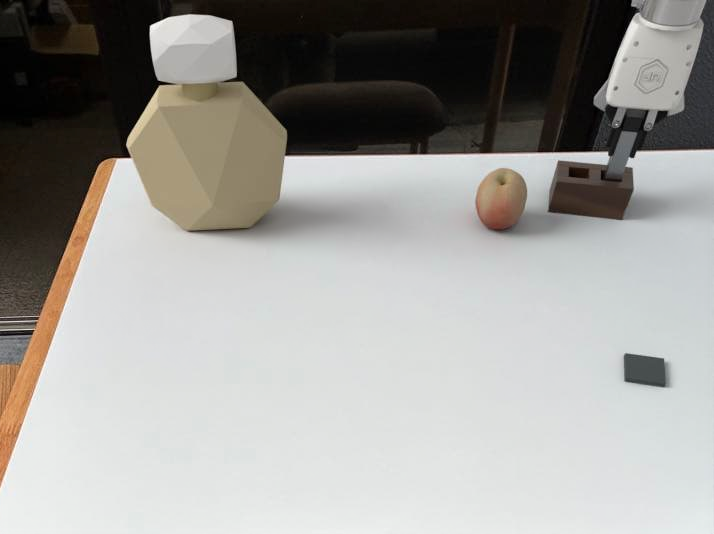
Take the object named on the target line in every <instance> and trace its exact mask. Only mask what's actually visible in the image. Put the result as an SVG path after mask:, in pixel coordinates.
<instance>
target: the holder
mask: <svg viewBox="0 0 714 534" xmlns="http://www.w3.org/2000/svg"><path fill="white" fill-rule="evenodd" d="M606 167H607V164H601V163H591V162H590V163H589V162H579V161H571V160H570V161H569V160H561V159H560V160H559V159H558V160H557V163H556V166H555V170H554V173H553V177H552V180H551V183H550V188H549V191H548V192H549V193H548V195H549V196H548V205H547V212H548V213H555V214H565V215H573V216H574V215H575V216H584V217H593V218H601V219H602V218H603V219H611V220H620V221H621V220H623V218H624V216H625V213H626V210H627V208H628V205H629V203H630V200H631V198H632V197H633V193H634V190H635V186H634V168H633V167H632V166H626V167H625V170H624V172H623V175H622V178H621V180H620V182H614V181H604V180H602V178H603V175H604V172H605V169H606Z"/></svg>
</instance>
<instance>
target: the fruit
mask: <svg viewBox="0 0 714 534" xmlns="http://www.w3.org/2000/svg"><path fill="white" fill-rule="evenodd" d="M527 198H528V187H527V182H526V180H525V178H524V177H523V176H522V174H520V173H519V172H518V171H516V170H514V169H511V168H509V167H499V168H496V169H494V170H492V171H490V172H489V173H488V174H487V175H485V177H484V178H483V179H482V180H481V182H480V183H479V185H478V187H477V191H476V196H475V200H474V201H475V202H474V203H475V210H476V213H477V216H478V218H479V220H480V222H481V223H482V225H483V226H485V227H486V228H488V229H490V230H504V229H507V228H510V227H512V226H513V225H515V224H516V223H517V222H518V221H519V219H520V218H521V217H522V215H523V213H524V211H525V209H526V203H527Z"/></svg>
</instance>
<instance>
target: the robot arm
mask: <svg viewBox="0 0 714 534" xmlns="http://www.w3.org/2000/svg"><path fill="white" fill-rule="evenodd" d="M706 3H707V0H631V4H630V7H634V8H636V9H638V11H639V12H637V13H635V14H634V16H633V17H632V19H631V21H630V22H629V25H628V27H627V29H626V31H625V34H624V36H623V38H622V41H621V43H620V45H619V47H618V50H617V53H616V55H615V58H614V61H613V64H612V67H611V70H610V72H609V75H608V78H607V80H606V81H605V82H604V84H603V85H602V86H601V88H600V89H599V90H598V91H597V93H596V94H595V95H594V97H593V100H592V101H593V106H595V107H596V108H597V109H599V110H600V111H602V112H604V113H605V115H606V117H607V119H608V120H609V123H610V124H611V125H610V128H609V131H608V134H607V137H606V141H605V144H604V147H605V148H607V157H610V156H612V155H614V152H615V150H616V147H617V144H618V141H619V138H620V135H621V132H622V120H623V117H624V114H625V112H626V110H628V109H630V110H642V111H644V110H645V111H644V113H643V120H642V123H641V126H640V128H639V131H638V134H637V137H636V139H635V142H634V145H633V147H632V150H631V153H630V156H629V159H635V157H636V154H637V151H641V150H642V148H643V146H644V143H645V140H646V138H647V135H648V132H649V131H651V130H652V129H653V127H654V126H656V124H659V122H661V121H663V120H665V118H667V117H670V116H673V115H676V114H679V113H681V112H683V111H684V110H685V89H686V87H687V84H688V81H689V78H690V75H691V73H692V69H693V66H694V63H695V60H696V57H697V53H698V50H699V47H700V43H701V39H702V36H703V30H704V25H705V24H704V22H703V19H702V18H701V15H702V13H703V10H704V8H705V5H706Z"/></svg>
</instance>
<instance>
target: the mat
mask: <svg viewBox="0 0 714 534" xmlns="http://www.w3.org/2000/svg"><path fill="white" fill-rule="evenodd" d="M623 379H624V382H626V383H632V384H641V385H647V386H655V387H660V388H665V387H666V385H667V377H666V365H665V358H664V357H657V356H650V355H643V354H637V353H636V354H635V353H628V352H625V353H624V355H623Z"/></svg>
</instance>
